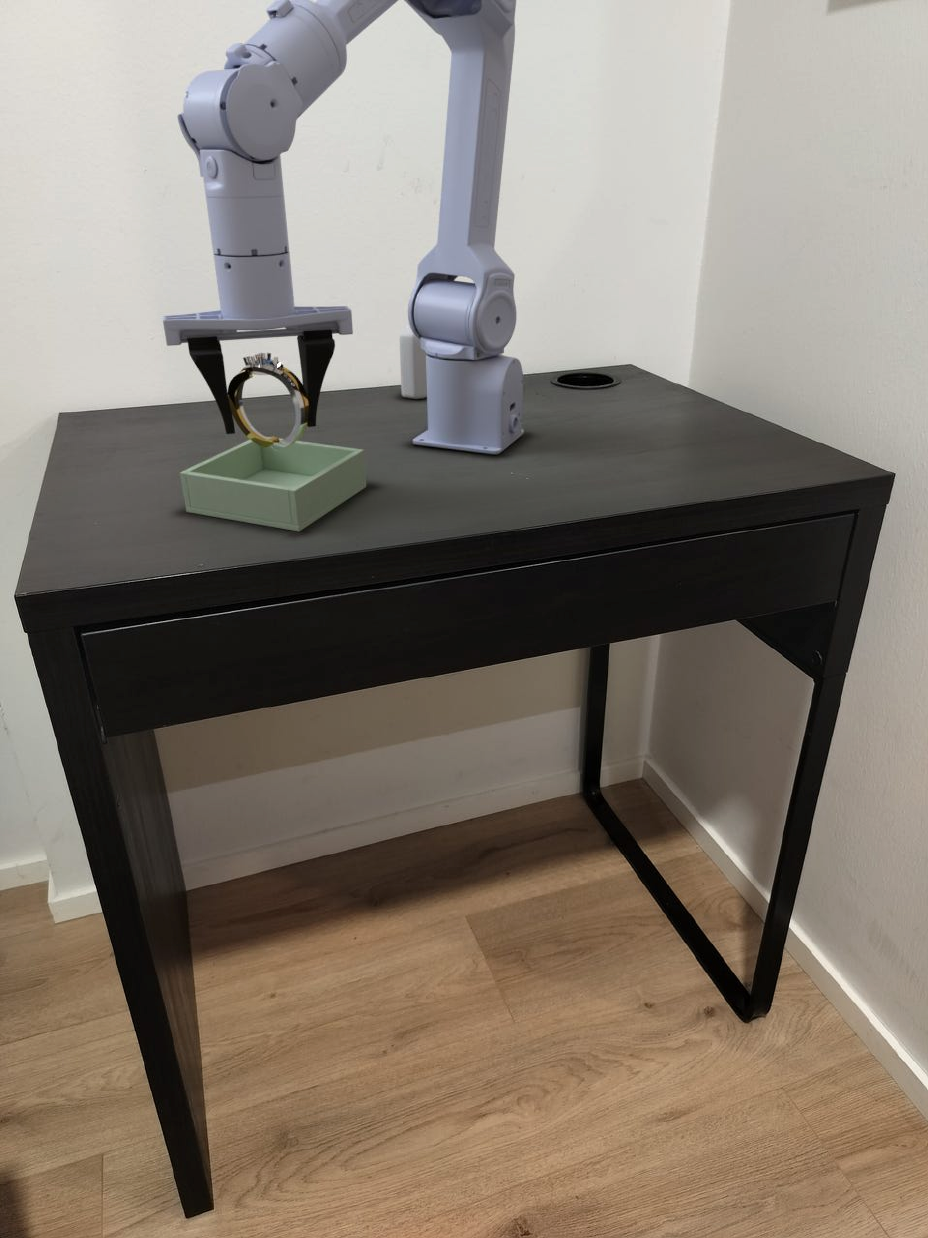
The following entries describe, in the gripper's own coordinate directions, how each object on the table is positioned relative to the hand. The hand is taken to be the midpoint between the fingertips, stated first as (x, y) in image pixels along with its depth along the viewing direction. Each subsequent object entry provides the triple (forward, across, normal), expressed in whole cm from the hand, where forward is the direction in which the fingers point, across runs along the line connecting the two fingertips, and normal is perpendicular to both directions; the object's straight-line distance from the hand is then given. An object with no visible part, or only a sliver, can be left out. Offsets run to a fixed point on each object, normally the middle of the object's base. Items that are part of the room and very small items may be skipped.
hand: (271, 427), depth 74 cm
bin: (+6, 0, 0) cm, 6 cm away
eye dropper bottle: (+7, -21, -31) cm, 38 cm away
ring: (+2, 0, 0) cm, 2 cm away
